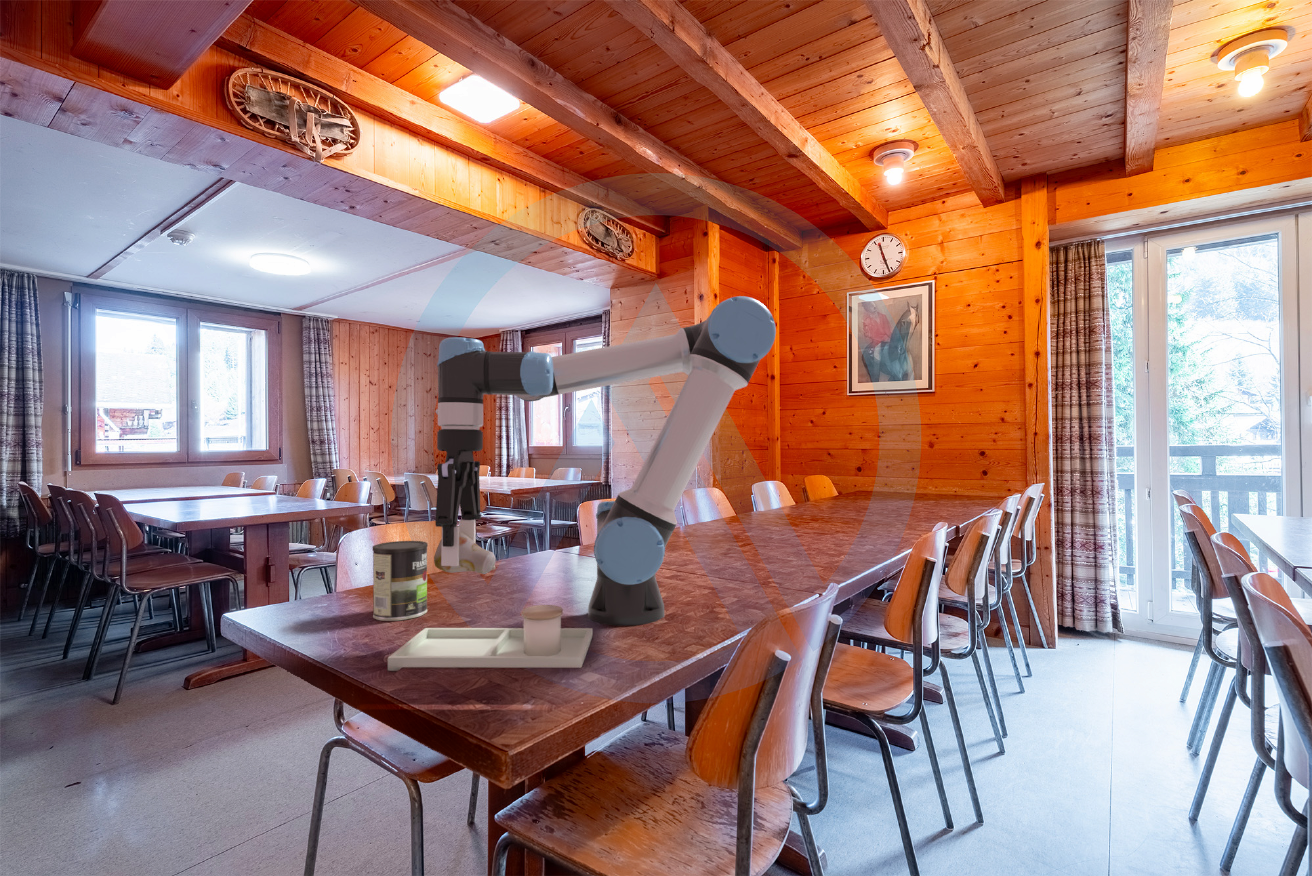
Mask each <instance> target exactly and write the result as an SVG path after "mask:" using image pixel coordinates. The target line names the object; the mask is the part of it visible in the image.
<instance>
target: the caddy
mask: <svg viewBox="0 0 1312 876" xmlns="http://www.w3.org/2000/svg"><path fill="white" fill-rule="evenodd" d="M592 638H593V628H592V627H584V628H583V627H582V628H581V627H573V628H572V627H563V628H562V627H561V651H560V652H559V653H557V654H555V655H552V656H528V655H526V654H524V627H424V628H423V629H422V630H421V631H420V632H418V633H417V634H416V635H414V636H413V637H412V638H410V640H409V641H406V642H405V644H403V645H402V646H401V647H399V648H398V649H397V650H395V651H394V652H393V653H392V654H391V655H390V656H388V657H387V671H388V672H390V671H391V672H398V671H400V670H401V669H402V668H512V669H513V668H521V669H522V668H523V669H524V668H525V669H526V668H527V669H528V668H531V669H532V668H533V669H534V668H539V669H540V668H543V669H544V668H545V669H546V668H548V669H549V668H555V669H556V668H561V669H562V668H564V669H565V668H566V669H567V668H568V669H569V668H570V669H571V668H573V669H574V668H575V669H577V668H578V669H579V668H580V669H581V668H582V667H583V665H584V661H585V659H586V656H587V653H588V650H589V648H590V645H591V643H592Z"/></svg>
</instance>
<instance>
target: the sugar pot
mask: <svg viewBox="0 0 1312 876" xmlns="http://www.w3.org/2000/svg"><path fill="white" fill-rule="evenodd" d="M563 614H564V612H563V608H562V607H561V606H558V605H555V604H554V605H552V604H537V605H532V606H528V607H525V608H523V609H522V610H521V616H522V617H523V628H524V654H526V655H528V656H552V655H555V654H557V653H559V652H560V651H561V628H562V626H561V625H562V615H563Z"/></svg>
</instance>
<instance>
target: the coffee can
mask: <svg viewBox="0 0 1312 876" xmlns="http://www.w3.org/2000/svg"><path fill="white" fill-rule="evenodd" d="M428 546H429V544H428V542H426V541H421V540H399V541H388V542H382V543H377V544H375V545H373V546H372V551H373V552H372V553H373V554H372V560H373V561H372V562H373V564H372V565H373V567H372V569H373V572H372V573H373V576H372V578H373V579H372V581H373V582H372V583H373V587H372V588H373V593H372V594H373V596H372V597H373V610H372V611H373V612H372V613H373V615H372V618H373V619H374V620H377V621H383V622H398V621H405V620H406V621H407V620H411V619H416V618H420V617H422V616H424V615H426V614H427V613H428Z"/></svg>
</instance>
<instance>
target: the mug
mask: <svg viewBox="0 0 1312 876" xmlns="http://www.w3.org/2000/svg"><path fill="white" fill-rule="evenodd" d="M441 547H442V538H441V539H440V541H439V543H438V545H437V547H436V549H435V553H434V554H433V555H434V557H433V564H434V566H435V568H437V569H438V570H441V571H442V572H446V573H463V572H474V573H478V574H481V575H486V574H488V573H490V572H491V571H492V570H494V571H495V570H496V566H495V564H496V556H495V554H494V552H492V551H490V550H488V549H484V548H482V547H481V546H479V545H478V544H477V543H476V541H475V542H474V541H473V540H472V539H470V538H469V537H468V536H467V535H465V534H464V533H462V532H459V565H458V566H441Z"/></svg>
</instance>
